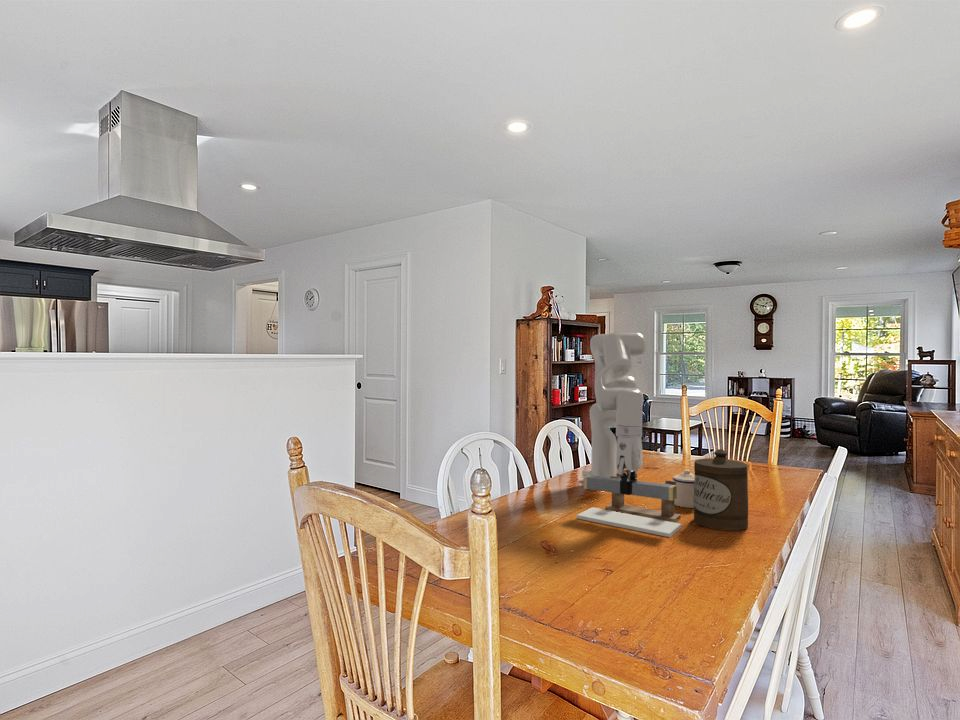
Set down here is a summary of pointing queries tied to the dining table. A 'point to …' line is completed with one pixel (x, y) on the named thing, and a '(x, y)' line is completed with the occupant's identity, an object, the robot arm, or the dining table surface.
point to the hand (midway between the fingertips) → (628, 492)
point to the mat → (630, 521)
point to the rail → (636, 487)
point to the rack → (664, 514)
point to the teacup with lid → (685, 489)
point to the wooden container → (721, 493)
